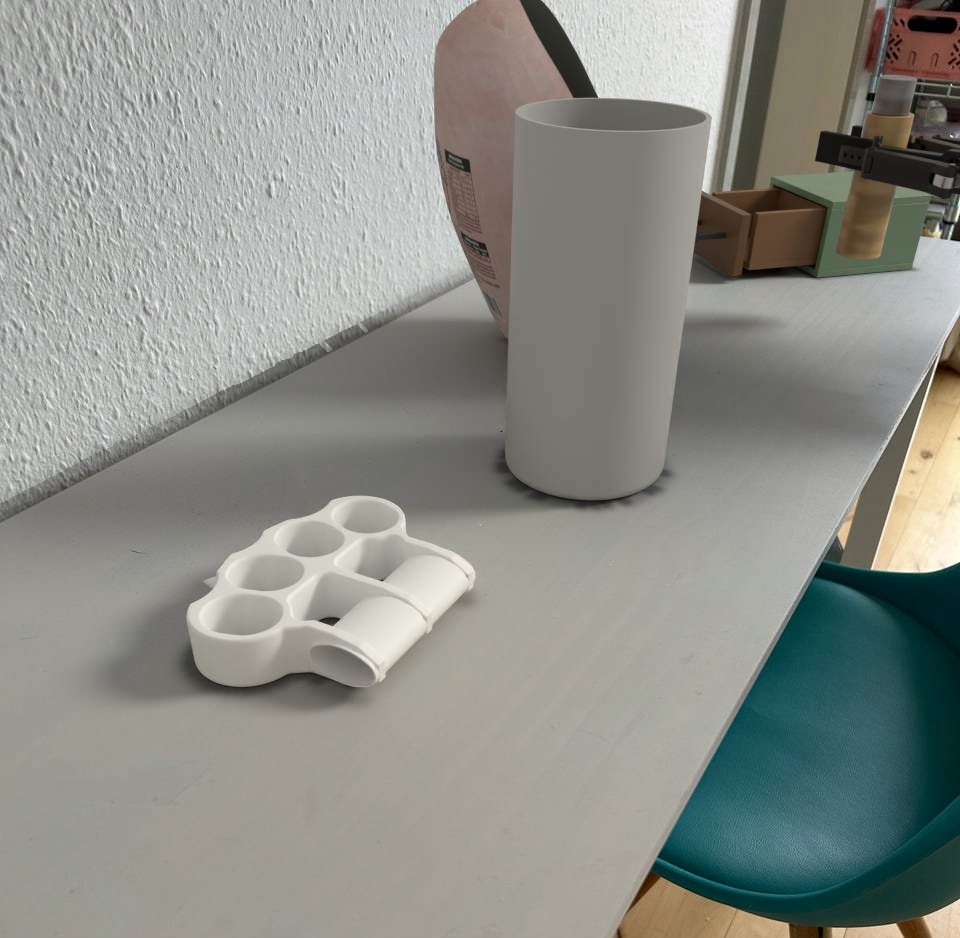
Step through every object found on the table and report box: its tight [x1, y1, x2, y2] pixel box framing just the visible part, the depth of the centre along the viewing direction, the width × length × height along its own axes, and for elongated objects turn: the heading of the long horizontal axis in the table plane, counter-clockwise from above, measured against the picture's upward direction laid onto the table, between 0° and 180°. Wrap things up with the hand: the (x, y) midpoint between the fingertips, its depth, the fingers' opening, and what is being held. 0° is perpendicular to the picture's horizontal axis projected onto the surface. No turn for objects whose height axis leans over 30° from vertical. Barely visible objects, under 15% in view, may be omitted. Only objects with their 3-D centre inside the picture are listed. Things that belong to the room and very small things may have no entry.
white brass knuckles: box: [185, 495, 477, 688], centre depth 61 cm, size 3×18×15 cm
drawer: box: [693, 187, 828, 277], centre depth 119 cm, size 17×12×7 cm
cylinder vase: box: [504, 97, 713, 501], centre depth 71 cm, size 12×12×25 cm
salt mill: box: [836, 74, 918, 260], centre depth 97 cm, size 4×4×16 cm
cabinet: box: [768, 170, 933, 279], centre depth 123 cm, size 14×14×9 cm
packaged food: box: [433, 0, 599, 340], centre depth 89 cm, size 22×20×30 cm
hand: (836, 143), depth 100 cm, fingers closed on salt mill, 4 cm apart
